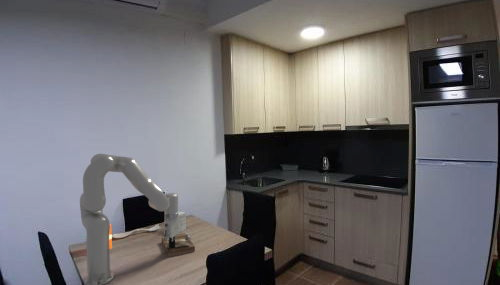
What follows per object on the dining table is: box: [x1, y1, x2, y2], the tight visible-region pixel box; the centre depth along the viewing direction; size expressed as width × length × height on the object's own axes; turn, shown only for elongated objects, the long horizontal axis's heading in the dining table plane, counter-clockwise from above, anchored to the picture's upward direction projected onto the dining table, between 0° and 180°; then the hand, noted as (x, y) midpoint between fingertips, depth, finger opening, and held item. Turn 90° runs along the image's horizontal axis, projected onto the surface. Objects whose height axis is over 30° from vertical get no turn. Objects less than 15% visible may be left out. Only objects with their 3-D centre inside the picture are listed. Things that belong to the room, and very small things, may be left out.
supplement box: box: [178, 210, 187, 233], centre depth 192 cm, size 7×7×13 cm
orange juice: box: [109, 223, 113, 250], centre depth 163 cm, size 8×9×20 cm
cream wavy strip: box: [111, 223, 162, 239], centre depth 186 cm, size 9×32×4 cm, turn 121°
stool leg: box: [167, 238, 190, 248], centre depth 157 cm, size 13×3×4 cm, turn 105°
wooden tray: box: [161, 232, 196, 258], centre depth 164 cm, size 24×15×6 cm, turn 27°
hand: (172, 247), depth 152 cm, fingers closed
